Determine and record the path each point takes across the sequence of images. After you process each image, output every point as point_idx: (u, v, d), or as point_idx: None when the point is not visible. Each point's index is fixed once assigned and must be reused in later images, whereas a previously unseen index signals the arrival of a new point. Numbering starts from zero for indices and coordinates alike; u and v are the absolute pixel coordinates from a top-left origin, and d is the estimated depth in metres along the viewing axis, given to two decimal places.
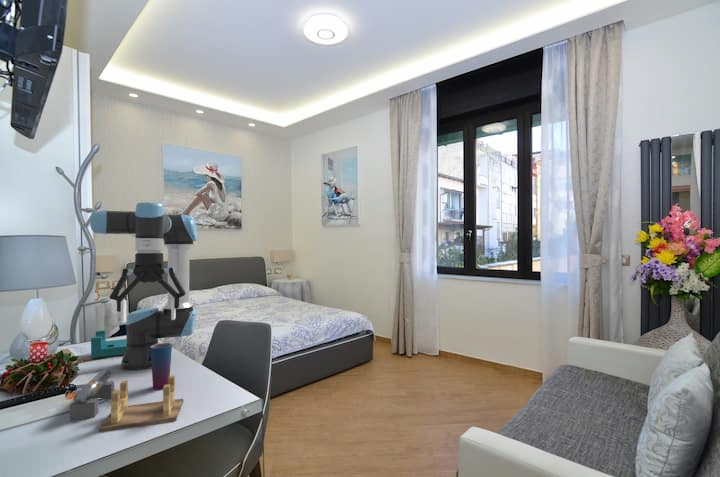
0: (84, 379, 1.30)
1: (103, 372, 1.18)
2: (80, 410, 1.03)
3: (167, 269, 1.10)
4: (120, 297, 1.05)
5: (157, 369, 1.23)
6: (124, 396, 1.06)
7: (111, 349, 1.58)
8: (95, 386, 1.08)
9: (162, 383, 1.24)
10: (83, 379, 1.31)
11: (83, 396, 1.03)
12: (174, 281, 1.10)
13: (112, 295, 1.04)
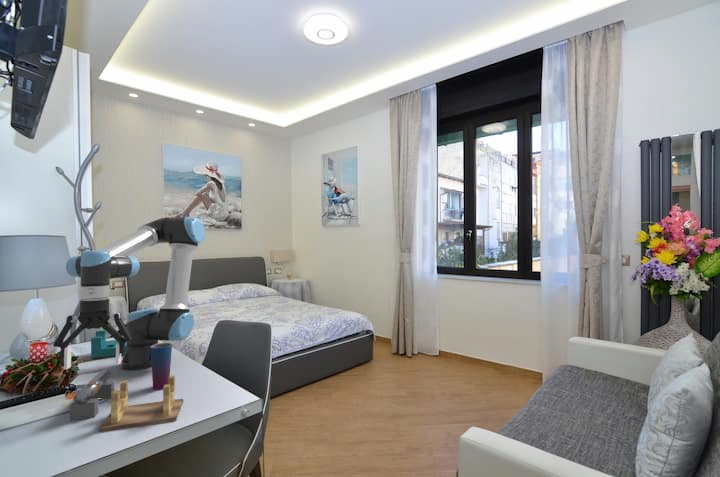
0: (84, 379, 1.30)
1: (103, 372, 1.18)
2: (80, 410, 1.03)
3: (112, 315, 1.12)
4: (64, 344, 1.08)
5: (157, 369, 1.23)
6: (124, 396, 1.06)
7: (111, 349, 1.58)
8: (95, 386, 1.08)
9: (162, 383, 1.24)
10: (83, 379, 1.31)
11: (83, 396, 1.03)
12: (119, 327, 1.12)
13: (56, 342, 1.07)
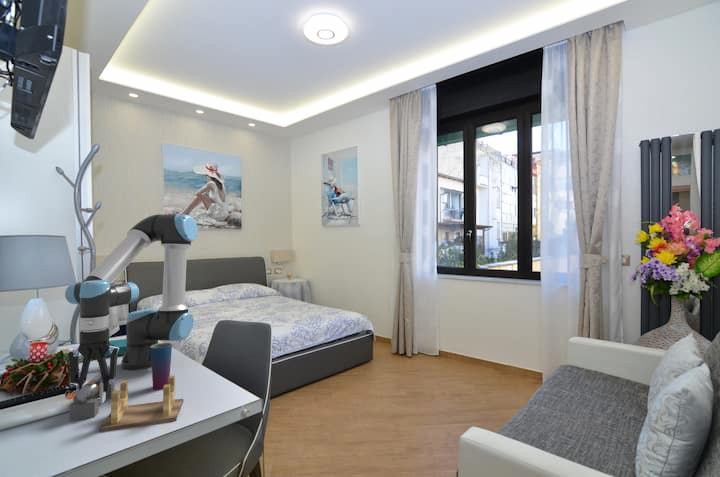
0: None
1: None
2: (80, 410, 1.03)
3: (112, 348, 1.12)
4: (80, 380, 1.09)
5: (157, 369, 1.23)
6: (124, 396, 1.06)
7: None
8: (95, 386, 1.08)
9: (162, 383, 1.24)
10: None
11: (83, 396, 1.03)
12: (111, 362, 1.12)
13: (72, 379, 1.08)
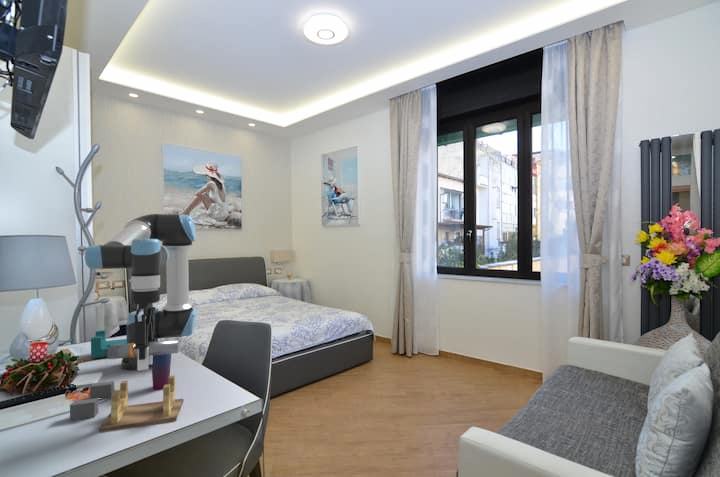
0: (84, 380, 1.30)
1: (169, 341, 1.07)
2: (80, 410, 1.03)
3: None
4: None
5: (157, 369, 1.23)
6: (124, 396, 1.06)
7: None
8: (128, 348, 1.02)
9: (162, 383, 1.24)
10: (83, 379, 1.30)
11: None
12: None
13: None
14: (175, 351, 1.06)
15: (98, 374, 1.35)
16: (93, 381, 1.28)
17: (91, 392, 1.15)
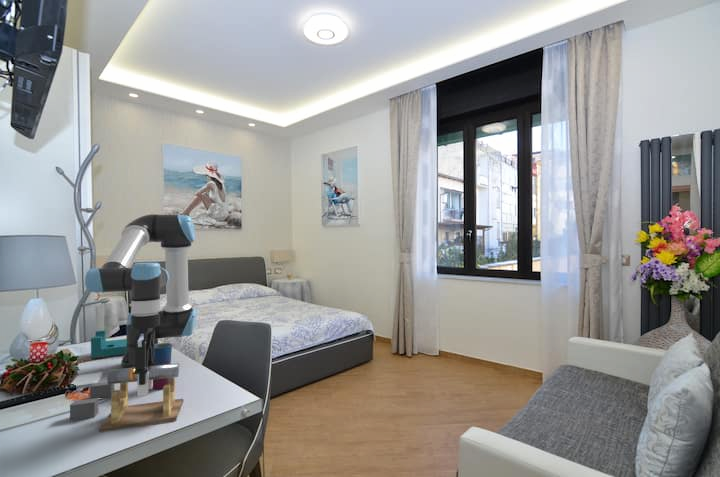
0: (84, 380, 1.30)
1: (169, 364, 1.07)
2: (80, 410, 1.03)
3: None
4: None
5: None
6: (124, 396, 1.06)
7: (111, 349, 1.58)
8: (128, 373, 1.02)
9: (162, 383, 1.24)
10: (83, 379, 1.30)
11: None
12: None
13: None
14: (175, 375, 1.06)
15: (98, 374, 1.35)
16: (93, 381, 1.28)
17: (91, 392, 1.15)
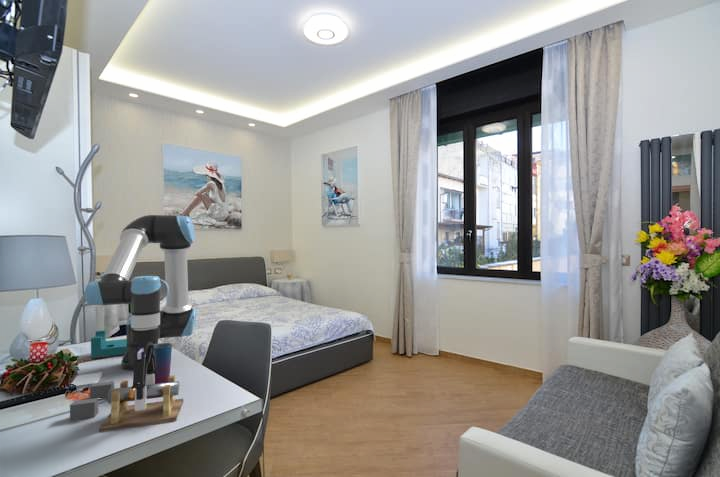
0: (84, 380, 1.30)
1: (169, 383, 1.07)
2: (80, 410, 1.03)
3: None
4: None
5: (157, 369, 1.23)
6: None
7: (111, 349, 1.58)
8: (128, 392, 1.02)
9: None
10: (83, 379, 1.30)
11: None
12: None
13: None
14: (175, 394, 1.06)
15: (98, 374, 1.35)
16: (94, 381, 1.28)
17: (91, 392, 1.15)
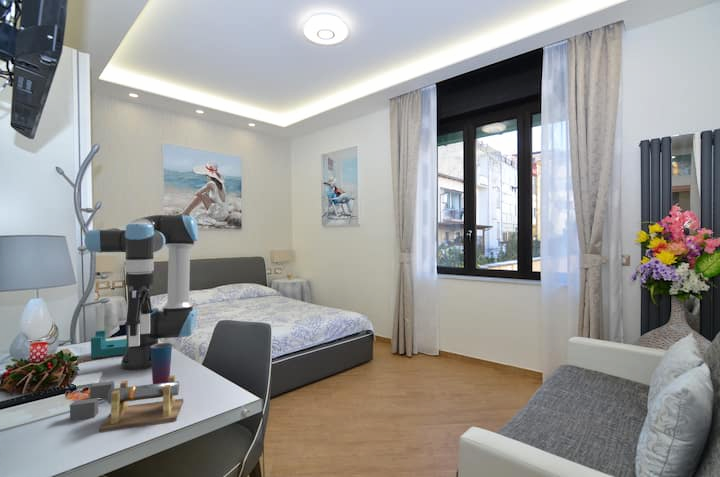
0: (85, 380, 1.30)
1: (169, 383, 1.07)
2: (80, 410, 1.03)
3: None
4: (141, 310, 1.17)
5: (157, 369, 1.23)
6: None
7: (111, 349, 1.58)
8: (128, 392, 1.02)
9: None
10: (83, 379, 1.30)
11: None
12: None
13: None
14: (175, 394, 1.06)
15: (98, 374, 1.35)
16: (94, 381, 1.28)
17: (91, 392, 1.15)
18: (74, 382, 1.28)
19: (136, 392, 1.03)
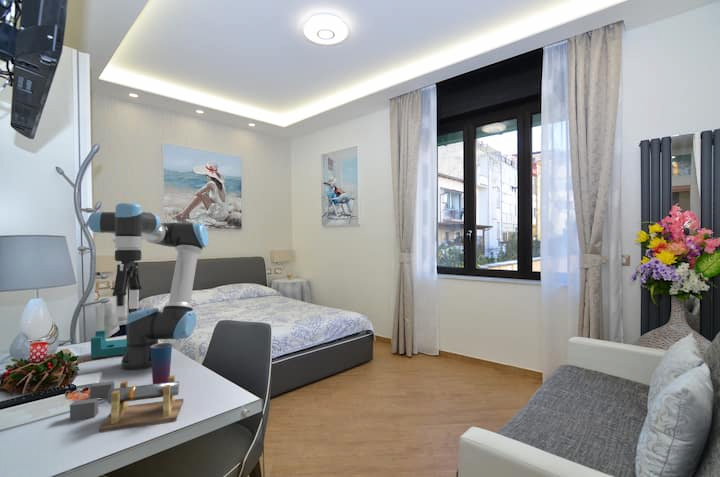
0: (85, 380, 1.29)
1: (169, 383, 1.07)
2: (80, 410, 1.03)
3: None
4: None
5: (157, 369, 1.23)
6: None
7: (111, 349, 1.58)
8: (128, 392, 1.02)
9: None
10: (83, 379, 1.30)
11: None
12: None
13: None
14: (175, 394, 1.06)
15: (98, 374, 1.35)
16: (94, 381, 1.28)
17: (91, 392, 1.15)
18: (74, 382, 1.28)
19: (136, 392, 1.03)
